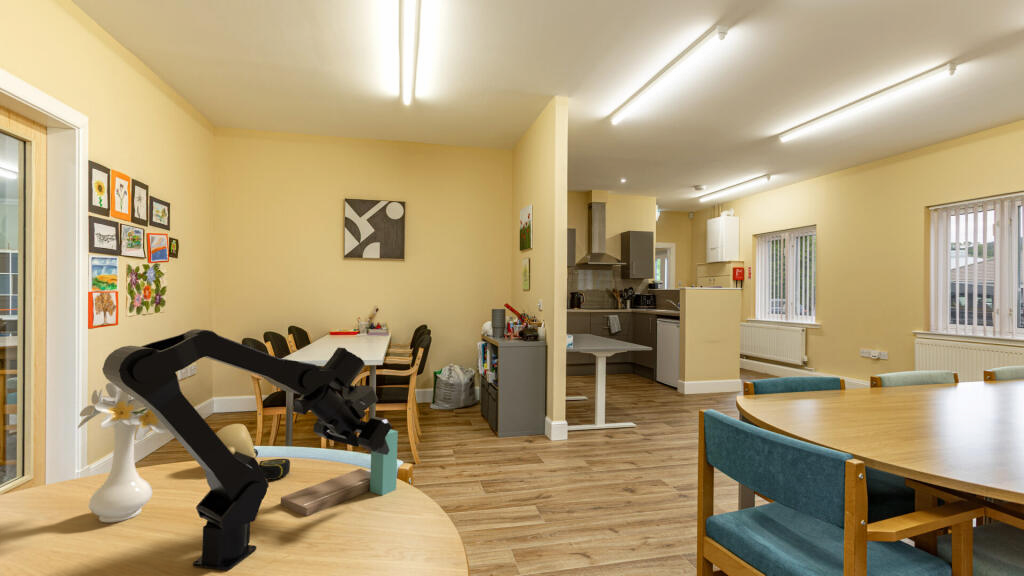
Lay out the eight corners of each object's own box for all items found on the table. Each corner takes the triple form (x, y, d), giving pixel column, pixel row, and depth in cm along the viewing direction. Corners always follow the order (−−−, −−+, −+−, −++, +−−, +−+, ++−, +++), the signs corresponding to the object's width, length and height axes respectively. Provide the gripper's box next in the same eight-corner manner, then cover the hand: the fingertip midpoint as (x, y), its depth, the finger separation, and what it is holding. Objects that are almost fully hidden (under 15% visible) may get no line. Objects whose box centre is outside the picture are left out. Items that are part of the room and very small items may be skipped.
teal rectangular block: (382, 495, 99) (384, 435, 99) (360, 488, 103) (362, 429, 103) (396, 489, 102) (397, 431, 103) (375, 482, 106) (376, 426, 107)
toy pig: (250, 481, 114) (272, 443, 122) (231, 456, 107) (255, 417, 115) (214, 478, 115) (237, 440, 123) (192, 452, 107) (218, 414, 116)
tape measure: (290, 470, 113) (290, 455, 113) (288, 480, 107) (289, 464, 107) (258, 474, 110) (259, 458, 110) (255, 484, 104) (256, 468, 104)
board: (306, 516, 89) (306, 508, 89) (280, 504, 94) (280, 496, 94) (385, 483, 106) (385, 476, 106) (360, 474, 110) (360, 468, 111)
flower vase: (126, 538, 79) (133, 394, 80) (49, 524, 84) (57, 387, 85) (194, 506, 92) (200, 382, 93) (124, 495, 96) (130, 377, 97)
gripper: (385, 379, 90) (423, 423, 99) (327, 370, 100) (366, 411, 109) (351, 428, 84) (395, 471, 93) (292, 413, 94) (337, 453, 103)
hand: (373, 448), depth 99 cm, fingers open, 9 cm apart
